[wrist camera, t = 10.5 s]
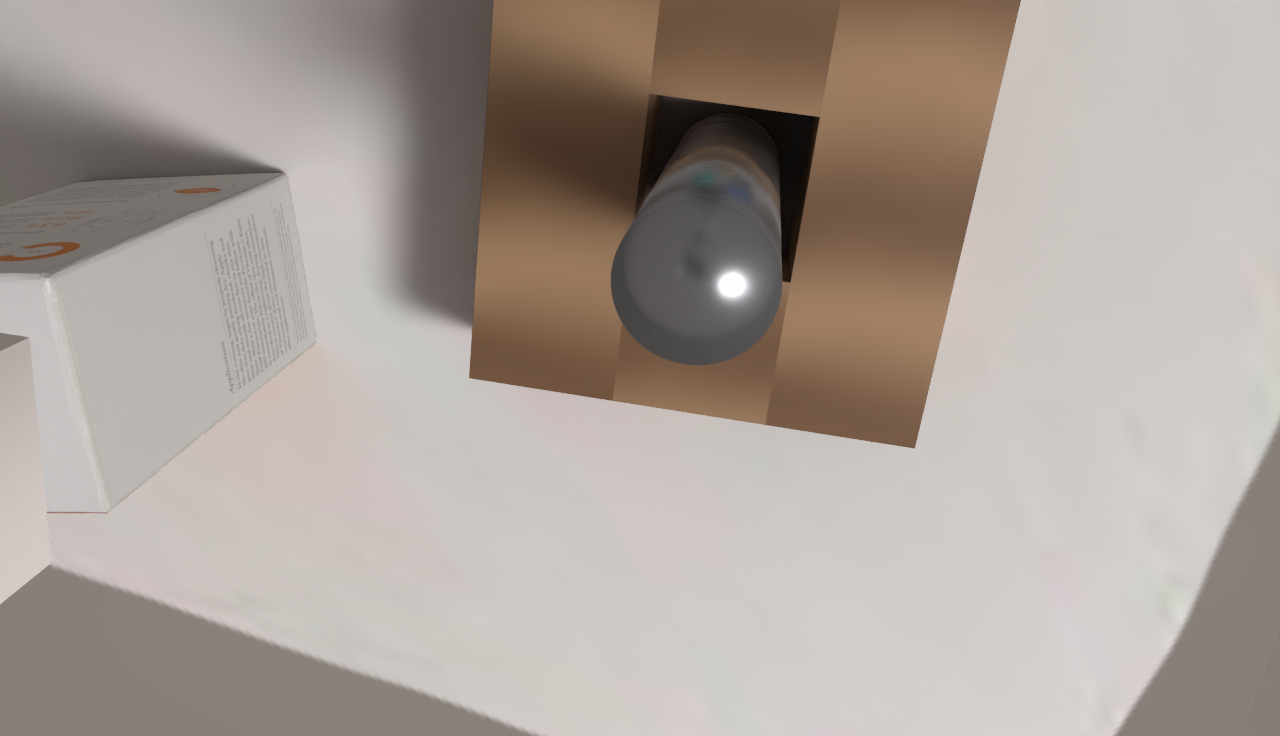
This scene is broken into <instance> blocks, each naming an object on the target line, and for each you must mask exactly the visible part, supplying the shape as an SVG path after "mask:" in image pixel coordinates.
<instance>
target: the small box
mask: <svg viewBox="0 0 1280 736" xmlns="http://www.w3.org/2000/svg"><path fill="white" fill-rule="evenodd" d="M0 333H5V334H12V335H18V336H24V337H29V339H30V349H31V359H32V369H33V378H34V388H35V398H36V408H37V418H38V428H39V438H40V448H41V458H42V468H43V478H44V488H45V498H46V508H47V513H105V514H107V513H108V512H109V511H110V510H111V509H112V508H114V507H115V506H116V505H117V504H118V503H120V502H121V501H122V500H124V499H125V498H126V497H127V496H129V495H130V494H131V493H132V492H133V491H135V490H136V489H137V488H138V487H139V486H141V485H142V484H143V483H144V482H146V481H147V480H148V479H149V478H151V477H152V476H153V475H154V474H156V473H157V472H158V471H159V470H160V469H162V468H163V467H164V466H165V465H167V464H168V463H169V462H170V461H172V460H173V459H174V458H175V457H177V456H178V455H179V454H180V453H181V452H182V451H184V450H185V449H186V448H187V447H189V446H190V445H191V444H192V443H194V442H195V441H196V440H197V439H198V438H200V437H201V436H202V435H203V434H205V433H206V432H207V431H208V430H210V429H211V428H212V427H213V426H214V425H215V424H217V423H218V422H219V421H220V420H222V419H223V418H224V417H225V416H227V415H228V414H229V413H230V412H232V411H233V410H234V409H235V408H236V407H238V406H239V405H240V404H241V403H242V402H244V401H245V400H246V399H248V398H249V397H250V396H251V395H253V394H254V393H255V392H256V391H257V390H258V389H260V388H261V387H262V386H264V385H265V384H266V383H267V382H269V381H270V380H271V379H272V378H273V377H275V376H276V375H277V374H278V373H280V372H281V371H282V370H283V369H284V368H286V367H287V366H288V365H289V364H291V363H292V362H293V361H294V360H296V359H297V358H298V357H299V356H300V355H302V354H303V353H304V352H305V351H307V350H308V349H309V348H310V347H312V346H313V345H314V344H315V342H316V332H315V327H314V321H313V316H312V311H311V305H310V299H309V293H308V288H307V282H306V277H305V271H304V266H303V260H302V254H301V248H300V242H299V235H298V230H297V225H296V219H295V214H294V208H293V203H292V198H291V192H290V187H289V181H288V177H287V175H286V174H285V173H255V174H227V175H202V176H180V177H159V178H138V179H117V180H99V181H87V182H76V183H72V184H70V185H67V186H64V187H60V188H57V189H53V190H50V191H47V192H44V193H40V194H37V195H34V196H30V197H27V198H24V199H21V200H18V201H15V202H12V203H9V204H6V205H2V206H0Z"/></svg>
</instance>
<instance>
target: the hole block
mask: <svg viewBox="0 0 1280 736" xmlns="http://www.w3.org/2000/svg"><path fill="white" fill-rule="evenodd" d="M1020 2H1021V0H494V1H493V17H492V32H491V48H490V64H489V79H488V95H487V110H486V126H485V141H484V157H483V172H482V188H481V203H480V219H479V234H478V250H477V265H476V281H475V296H474V312H473V327H472V343H471V358H470V374H469V378H473V379H479V380H485V381H492V382H498V383H504V384H511V385H517V386H523V387H530V388H536V389H542V390H549V391H555V392H561V393H568V394H574V395H580V396H587V397H593V398H599V399H606V400H612V401H618V402H625V403H631V404H637V405H644V406H650V407H656V408H663V409H669V410H675V411H682V412H688V413H694V414H701V415H707V416H713V417H720V418H726V419H732V420H739V421H745V422H751V423H758V424H764V425H770V426H777V427H783V428H789V429H796V430H802V431H808V432H815V433H821V434H827V435H833V436H840V437H846V438H852V439H859V440H865V441H871V442H878V443H884V444H890V445H897V446H903V447H909V448H915V445H916V440H917V436H918V432H919V428H920V424H921V419H922V415H923V411H924V407H925V403H926V398H927V394H928V390H929V386H930V381H931V377H932V373H933V369H934V365H935V360H936V356H937V352H938V348H939V343H940V339H941V335H942V331H943V327H944V322H945V318H946V314H947V310H948V305H949V301H950V297H951V293H952V289H953V284H954V280H955V276H956V272H957V267H958V263H959V259H960V255H961V251H962V246H963V242H964V238H965V234H966V229H967V225H968V221H969V217H970V213H971V208H972V204H973V200H974V196H975V191H976V187H977V183H978V179H979V175H980V170H981V166H982V162H983V158H984V154H985V149H986V145H987V141H988V137H989V132H990V128H991V124H992V120H993V116H994V111H995V107H996V103H997V99H998V94H999V90H1000V86H1001V82H1002V78H1003V73H1004V69H1005V65H1006V61H1007V56H1008V52H1009V48H1010V44H1011V40H1012V35H1013V31H1014V27H1015V23H1016V18H1017V14H1018V10H1019V6H1020ZM661 96H669V97H677V98H684V99H691V100H699V101H706V102H713V103H721V104H728V105H735V106H743V107H750V108H757V109H765V110H772V111H779V112H787V113H794V114H801V115H809V116H812V121H811V126H810V132H809V138H808V144H807V149H806V155H805V161H804V166H803V172H802V178H801V184H800V189H799V195H798V201H797V206H796V212H795V218H794V223H793V229H792V235H791V241H790V246H789V250H786V249H781V252H782V295H781V301H780V305H779V308H778V311H777V313H776V316H775V318H774V320H773V322H772V324H771V325H770V327H769V329H768V330H767V331H766V333H765V334H764V335H763V336H762V337H761V338H760V339H759V340H758V342H757V343H756V344H754V345H753V346H752V347H751V348H749V349H748V350H747V351H745V352H743V353H742V354H740V355H738V356H736V357H734V358H732V359H729V360H727V361H723V362H720V363H716V364H709V365H686V364H680V363H676V362H672V361H669V360H666V359H664V358H661V357H659V356H657V355H655V354H653V353H652V352H650V351H649V350H647V349H646V348H644V347H643V346H642V345H641V344H640V343H638V342H637V341H636V340H635V339H634V338H633V337H632V335H631V334H630V333H629V332H628V331H627V329H626V328H625V326H624V325H623V323H622V322H621V320H620V318H619V316H618V314H617V311H616V308H615V306H614V302H613V298H612V293H611V269H612V264H613V260H614V257H615V254H616V251H617V249H618V247H619V245H620V242H621V241H622V239H623V237H624V235H625V234H626V232H627V230H628V229H629V227H630V225H631V224H632V222H633V220H634V219H635V217H636V215H637V213H638V212H639V210H640V208H641V207H642V205H643V203H644V202H645V200H646V198H647V197H648V195H649V193H650V185H651V177H652V169H653V161H654V153H655V144H656V136H657V128H658V120H659V112H660V104H661Z"/></svg>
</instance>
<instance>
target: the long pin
mask: <svg viewBox="0 0 1280 736" xmlns="http://www.w3.org/2000/svg"><path fill="white" fill-rule="evenodd" d="M611 293H612V298H613V302H614V306H615V308H616V311H617V314H618V316H619V318H620V320H621V322H622V323H623V325H624V326H625V328H626V329H627V331H628V332H629V333H630V334H631V335H632V337H633V338H634V339H635V340H636V341H637V342H638V343H640V344H641V345H642V346H643V347H644V348H646V349H647V350H649V351H650V352H652V353H653V354H655V355H657V356H659V357H661V358H664V359H666V360H669V361H672V362H676V363H680V364H686V365H709V364H716V363H720V362H723V361H727V360H729V359H732V358H734V357H736V356H738V355H740V354H742V353H743V352H745V351H747V350H748V349H749V348H751V347H752V346H753V345H754V344H756V343H757V342H758V340H759V339H760V338H761V337H762V336H763V335H764V334H765V333H766V331H767V330H768V329H769V327H770V325H771V324H772V322H773V320H774V318H775V316H776V313H777V311H778V308H779V305H780V301H781V295H782V252H781V215H780V178H779V158H778V153H777V149H776V146H775V144H774V142H773V140H772V139H771V137H770V135H769V134H768V133H767V132H766V130H765V129H764V128H762V127H761V126H760V125H759V124H758V123H756V122H755V121H753V120H751V119H749V118H747V117H744V116H741V115H737V114H728V113H726V114H717V115H712V116H710V117H707V118H705V119H703V120H701V121H699V122H697V123H696V124H695V125H693V126H692V127H691V128H690V129H689V130H688V131H687V132H686V133H685V135H684V136H683V138H682V139H681V141H680V142H679V144H678V146H677V147H676V149H675V151H674V153H673V154H672V156H671V158H670V159H669V161H668V163H667V164H666V166H665V168H664V169H663V171H662V173H661V175H660V176H659V178H658V180H657V181H656V183H655V185H654V186H653V188H652V190H651V191H650V193H649V195H648V197H647V198H646V200H645V202H644V203H643V205H642V207H641V208H640V210H639V212H638V213H637V215H636V217H635V219H634V220H633V222H632V224H631V225H630V227H629V229H628V230H627V232H626V234H625V235H624V237H623V239H622V241H621V242H620V245H619V247H618V249H617V251H616V254H615V257H614V260H613V264H612V269H611Z"/></svg>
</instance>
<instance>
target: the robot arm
mask: <svg viewBox="0 0 1280 736" xmlns="http://www.w3.org/2000/svg"><path fill="white" fill-rule="evenodd" d="M51 562H52V557H51V547H50V537H49V527H48V518H47V508H46V498H45V488H44V478H43V468H42V458H41V448H40V438H39V428H38V418H37V408H36V398H35V388H34V378H33V369H32V359H31V349H30V339H29V337H24V336H18V335H12V334H5V333H0V603H2V602H3V601H4V600H6V599H7V598H8V597H9V596H11V595H12V594H13V593H14V592H16V591H17V590H18V589H19V588H20V587H22V586H23V585H24V584H25V583H27V582H28V581H29V580H30V579H32V578H33V577H34V576H35V575H37V574H38V573H39V572H40V571H42V570H43V569H44V568H45V567H47V566H48V565H49V564H50V563H51ZM1238 736H1280V634H1279V637H1278V639H1277V641H1276V644H1275V646H1274V649H1273V651H1272V654H1271V656H1270V659H1269V661H1268V664H1267V666H1266V668H1265V671H1264V673H1263V676H1262V679H1261V681H1260V683H1259V686H1258V688H1257V690H1256V693H1255V696H1254V698H1253V700H1252V703H1251V705H1250V708H1249V710H1248V713H1247V715H1246V718H1245V720H1244V722H1243V725H1242V727H1241V730H1240V732H1239V735H1238Z"/></svg>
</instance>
